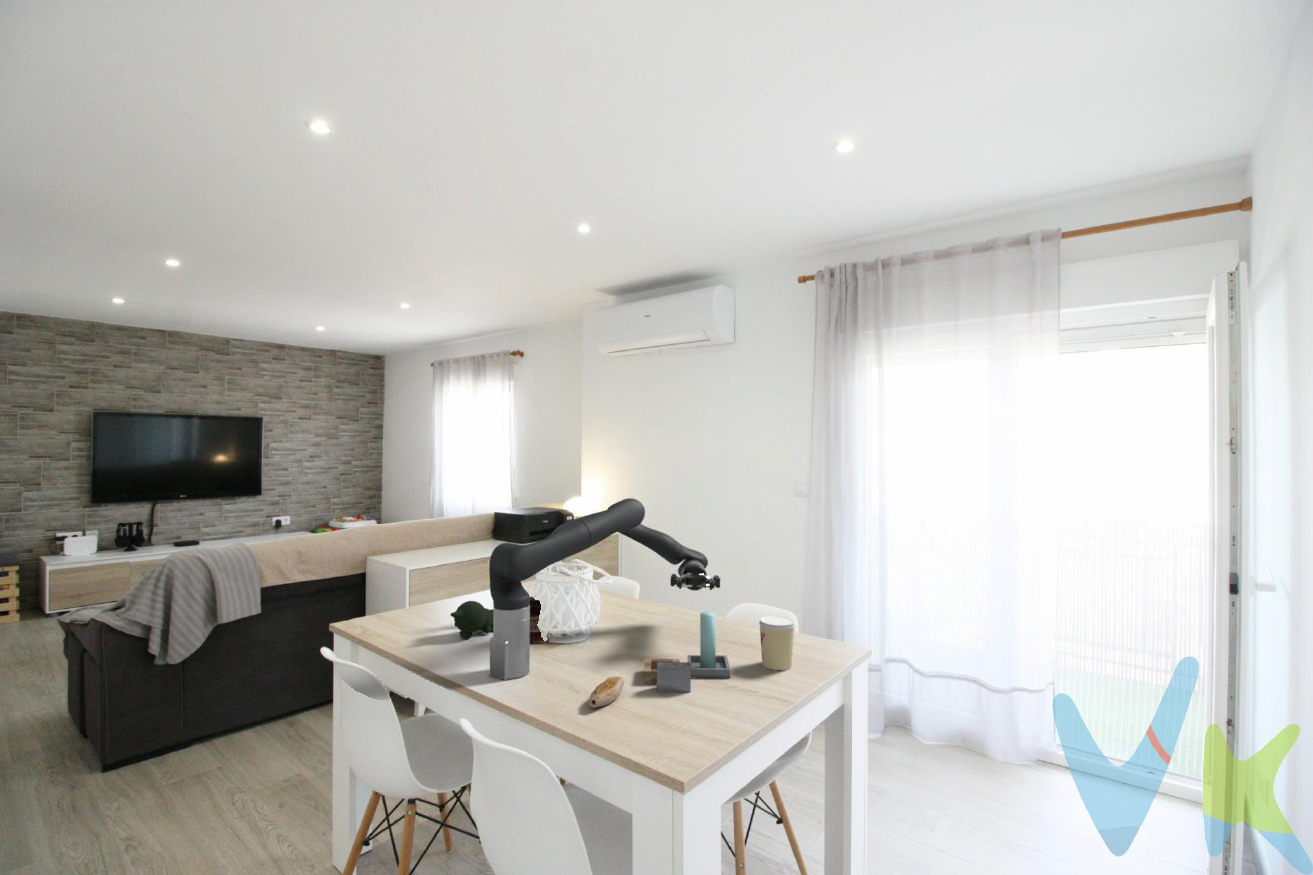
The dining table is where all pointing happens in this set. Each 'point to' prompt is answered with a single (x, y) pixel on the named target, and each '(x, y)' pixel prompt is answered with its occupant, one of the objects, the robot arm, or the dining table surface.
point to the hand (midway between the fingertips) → (695, 585)
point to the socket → (653, 669)
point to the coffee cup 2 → (777, 642)
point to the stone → (606, 692)
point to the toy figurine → (472, 619)
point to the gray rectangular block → (673, 677)
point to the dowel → (707, 640)
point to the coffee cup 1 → (535, 621)
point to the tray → (718, 672)
